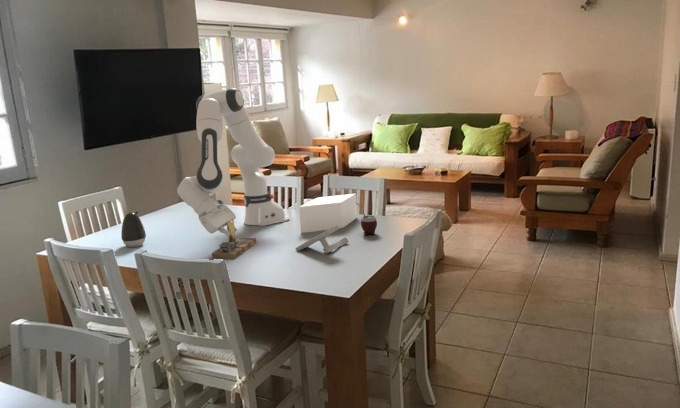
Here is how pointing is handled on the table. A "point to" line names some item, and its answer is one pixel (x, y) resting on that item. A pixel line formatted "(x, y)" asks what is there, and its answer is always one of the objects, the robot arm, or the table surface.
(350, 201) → the block
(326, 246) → the door handle
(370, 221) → the mate gourd
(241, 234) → the table surface
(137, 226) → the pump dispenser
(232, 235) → the bolt
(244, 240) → the door and jamb
